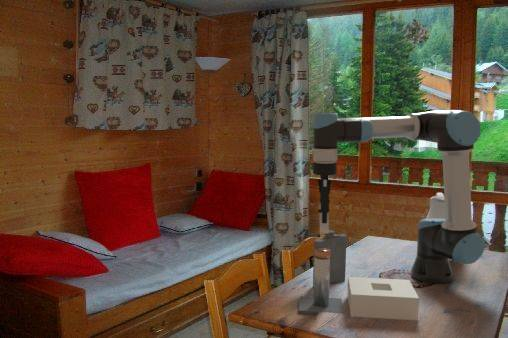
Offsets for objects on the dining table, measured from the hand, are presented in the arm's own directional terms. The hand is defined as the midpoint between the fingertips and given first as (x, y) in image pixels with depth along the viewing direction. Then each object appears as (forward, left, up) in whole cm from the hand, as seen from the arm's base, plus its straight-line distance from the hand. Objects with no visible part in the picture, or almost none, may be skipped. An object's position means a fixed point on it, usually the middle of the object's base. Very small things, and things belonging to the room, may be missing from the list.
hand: (323, 227), depth 154 cm
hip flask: (-3, -23, -27) cm, 35 cm away
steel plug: (0, 0, -26) cm, 26 cm away
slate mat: (0, 0, -27) cm, 27 cm away
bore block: (-19, 0, -27) cm, 32 cm away
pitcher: (-53, -66, -27) cm, 89 cm away
